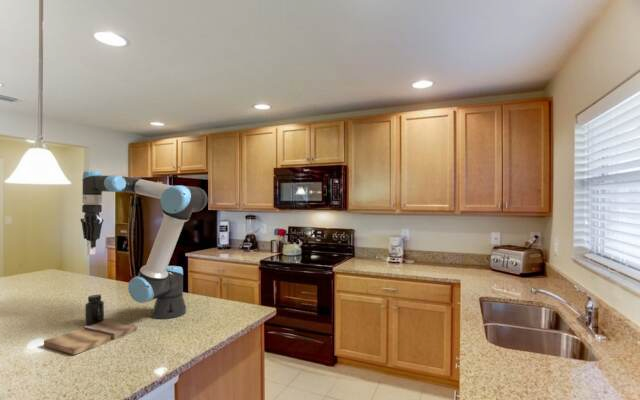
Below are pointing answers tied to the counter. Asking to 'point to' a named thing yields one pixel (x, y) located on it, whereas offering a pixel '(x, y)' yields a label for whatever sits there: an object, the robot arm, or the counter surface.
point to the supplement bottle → (94, 310)
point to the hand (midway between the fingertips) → (91, 254)
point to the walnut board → (112, 328)
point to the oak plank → (77, 341)
